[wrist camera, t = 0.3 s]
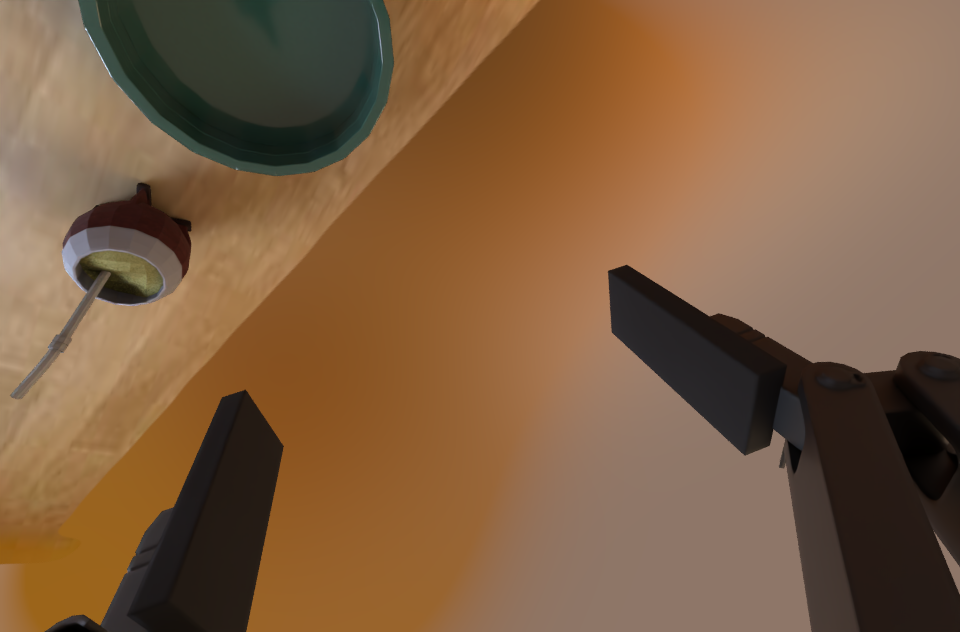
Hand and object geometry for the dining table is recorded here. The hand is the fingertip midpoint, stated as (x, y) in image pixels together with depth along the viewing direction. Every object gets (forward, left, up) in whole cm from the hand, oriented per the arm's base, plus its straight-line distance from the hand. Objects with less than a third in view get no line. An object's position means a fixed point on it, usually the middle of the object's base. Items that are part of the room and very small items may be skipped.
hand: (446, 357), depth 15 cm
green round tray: (0, -7, -27) cm, 28 cm away
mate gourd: (+18, -10, -28) cm, 34 cm away
